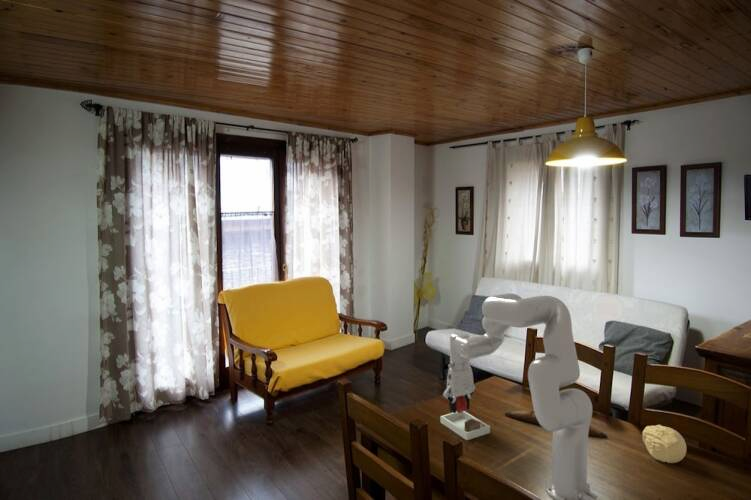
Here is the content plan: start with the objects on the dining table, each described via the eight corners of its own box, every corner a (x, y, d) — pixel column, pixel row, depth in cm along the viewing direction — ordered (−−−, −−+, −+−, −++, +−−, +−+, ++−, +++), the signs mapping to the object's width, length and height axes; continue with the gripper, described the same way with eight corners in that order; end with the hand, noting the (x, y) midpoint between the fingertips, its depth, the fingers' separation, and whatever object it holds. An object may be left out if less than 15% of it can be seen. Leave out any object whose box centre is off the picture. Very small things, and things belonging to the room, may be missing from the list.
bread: (502, 418, 184) (502, 406, 184) (505, 413, 188) (505, 401, 188) (607, 442, 164) (607, 428, 164) (608, 436, 169) (608, 423, 168)
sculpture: (636, 452, 157) (637, 423, 156) (661, 446, 161) (662, 416, 160) (667, 470, 146) (669, 438, 145) (693, 462, 150) (695, 431, 149)
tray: (489, 434, 170) (489, 426, 170) (466, 442, 165) (466, 433, 165) (462, 417, 184) (462, 409, 184) (440, 424, 179) (440, 416, 179)
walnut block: (479, 432, 170) (480, 422, 170) (473, 436, 168) (473, 425, 168) (471, 428, 174) (471, 418, 173) (464, 432, 171) (464, 421, 171)
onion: (449, 414, 176) (449, 394, 175) (454, 408, 181) (454, 389, 180) (464, 417, 173) (464, 397, 172) (468, 411, 178) (468, 391, 177)
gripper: (447, 372, 168) (447, 418, 170) (483, 363, 176) (483, 408, 178) (435, 365, 174) (435, 411, 176) (470, 358, 183) (470, 401, 184)
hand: (459, 409), depth 177 cm, fingers closed on onion, 5 cm apart
